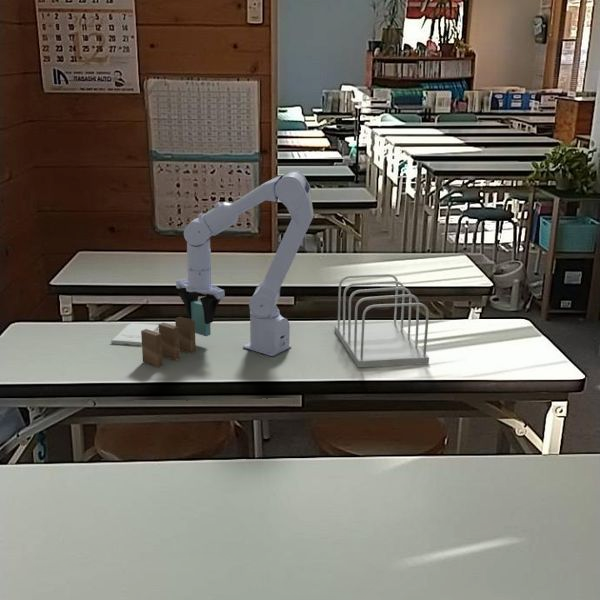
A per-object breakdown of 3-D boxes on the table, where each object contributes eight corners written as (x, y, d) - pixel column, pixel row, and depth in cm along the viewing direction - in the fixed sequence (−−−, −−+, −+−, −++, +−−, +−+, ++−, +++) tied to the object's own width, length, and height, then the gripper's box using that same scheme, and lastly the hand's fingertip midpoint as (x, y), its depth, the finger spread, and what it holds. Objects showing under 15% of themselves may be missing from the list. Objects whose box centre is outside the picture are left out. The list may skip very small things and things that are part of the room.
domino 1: (148, 360, 175) (146, 328, 172) (162, 365, 172) (161, 333, 170) (142, 362, 174) (141, 330, 171) (157, 367, 171) (156, 335, 168)
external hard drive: (159, 330, 195) (142, 348, 184) (129, 328, 196) (111, 345, 185) (158, 324, 195) (142, 341, 183) (129, 322, 196) (110, 339, 184)
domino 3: (181, 346, 183) (179, 316, 181) (195, 351, 181) (194, 320, 178) (176, 348, 182) (175, 318, 180) (191, 353, 179) (190, 322, 177)
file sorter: (429, 365, 175) (433, 303, 170) (358, 369, 172) (361, 306, 167) (396, 328, 198) (400, 272, 193) (333, 331, 195) (335, 275, 190)
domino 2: (165, 353, 179) (163, 322, 177) (179, 358, 176) (178, 327, 174) (160, 355, 178) (158, 324, 175) (174, 360, 175) (173, 329, 173)
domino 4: (196, 330, 187) (195, 300, 184) (210, 334, 184) (209, 304, 181) (191, 331, 185) (190, 301, 183) (206, 336, 183) (205, 306, 180)
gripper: (166, 266, 180) (168, 318, 185) (209, 277, 172) (211, 331, 176) (186, 260, 186) (188, 311, 190) (230, 270, 178) (230, 323, 182)
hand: (200, 320), depth 184 cm, fingers closed on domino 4, 5 cm apart
